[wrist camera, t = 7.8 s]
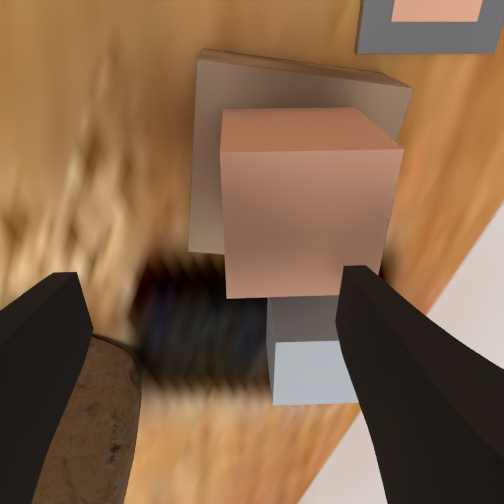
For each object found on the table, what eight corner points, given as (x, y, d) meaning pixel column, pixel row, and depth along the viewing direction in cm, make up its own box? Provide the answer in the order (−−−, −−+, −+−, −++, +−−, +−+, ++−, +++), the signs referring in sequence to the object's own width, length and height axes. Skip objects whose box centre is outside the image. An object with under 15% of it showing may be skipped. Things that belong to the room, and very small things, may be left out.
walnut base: (195, 211, 21) (188, 251, 18) (204, 48, 17) (197, 59, 14) (337, 225, 22) (356, 265, 19) (379, 71, 18) (413, 88, 15)
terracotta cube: (227, 226, 17) (226, 298, 13) (223, 109, 15) (219, 152, 11) (339, 223, 18) (374, 294, 13) (355, 107, 15) (404, 149, 11)
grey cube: (266, 341, 27) (272, 405, 22) (267, 282, 24) (275, 342, 20) (339, 339, 27) (359, 402, 23) (349, 280, 24) (374, 339, 20)
